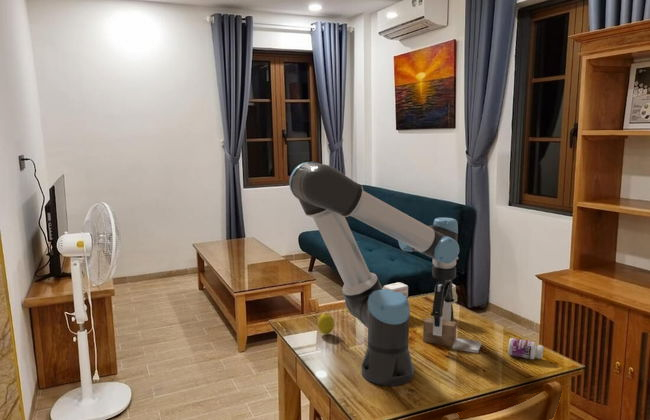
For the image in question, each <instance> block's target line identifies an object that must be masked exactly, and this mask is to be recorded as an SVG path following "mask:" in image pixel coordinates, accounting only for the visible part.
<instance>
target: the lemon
mask: <svg viewBox="0 0 650 420" xmlns="http://www.w3.org/2000/svg"><path fill="white" fill-rule="evenodd" d="M334 326H335V323H334V318H333V316H332V315H331V314H330V313H327V312H324V313H322V314H320V316H319V317H318V320H317V328H318V330H319V332H320V333H321V334H324V335H325V336H327V335H328V334H330V333H332V331H333V330H334V328H335V327H334Z"/></svg>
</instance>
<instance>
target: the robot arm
mask: <svg viewBox="0 0 650 420" xmlns="http://www.w3.org/2000/svg"><path fill="white" fill-rule="evenodd" d="M289 177H290V178H289V181H288V182H289V183H288V185H289V189H290V191H291V193H292V196H294V197H295V198H296V199H298V201H299V203H300V206H301V207H302V209H303V211H304V214H305V215H306V216H307V217H310V218H312V219H313V221H314V222H315V225H316V227H317V229H318V232H319V234H320V235H321V238H322V239H323V242H324V244H325V246H326V248H327V250H328V253H329V254H330V256H331V258H332V261H333V263H334V265H335V267H336V270H337V271H338V274H339V276H340V277H341V279H342V282H343V283H344V284H343V286H342V288H341V289H342V290H341V291H342V294H343V296H344V302H345V303H344V304H345V306H346V308H347V310H348V311H349V313H350V314H351V315H352V316H353V317H355V318H356V319H357V320H359V322H360V323H361V324H362V325H364V327H366V328H367V347H366V351H365V354H364V357H363V359H362V362H361V372H360V373H361V375H362V377H363V378H364V379H365V380H366V381H368V382H369V383H373V384H375V385H380V386H387V387H389V386H391V387H394V386H401V385H404V384H407V383H409V382H410V381H412V380H413V378H414V376H415V365H414V363H413V360H412V356H411V354H410V351H409V341H410V339H409V338H410V337H409V334H410V316H411V309H410V301H409V299H407V298H406V297H405V296H404V295H403V294H401V293H399V292H397V291H396V292H394V291H393V290H383V286H382V284H381V281H380V280H379V278H378V276H377V274H376V273H374V272H370V270H369V267H368V266H367V263H366V261H365V258H364V257H363V254H362V253H361V250H360V248H359V245H358V243H357V242H356V238H355V237H354V235H353V232H352V230H351V228H350V226H349V223H348V221H347V219H346V218H347V217H352V218H354V219H355V220H358V221H360V222H361V223H364V224H366V225H368V226H369V227H372V228H374V229H375V230H378V231H379V232H381V233H383V234H385V235H388V236H389V237H391V238H393V239H395V240H397V241H398V246H399V248H400V250H402V251H403V252H410V253H411V252H418V253H419V254H422V255H424V256H426V257H429V258H432V262H431V263H432V267H431V268H432V269H431V270H432V271H431V272H432V273H431V275H432V277H433V278H434V279H437V280H438V281H437V282H436V284H435V286H434V297H433V304H432V312H430V316H431V317H433V335H437V336H442V320H446V321H452V319H451V302H454V299H452V298H453V292H452V284H453V281H452V280H455V279H456V277H457V267H456V265H457V260H459V256H458V255H459V253H460V245H459V243H458V235H459V225H458V224H459V223H458V220H457V219H455V218H452V217H436V218H434V220H433V224H432V225H427V224H424V223H423V222H421V221H419V220H417V219H416V218H414V217H412V216H409V214H406V213H405V212H403V211H401V210H399V209H397V208H396V207H393V206H392V205H390V204H388V203H387V202H385V201H383V200H382V199H379V198H377V197H376V196H373V195H372V194H370V193H368V192H367V191H365V190H364V188H363V185H362V184H360V183H358V182H356V181H354V180H353V179H351V178H350V177H348V176H346V175H345V174H344V173H343V172H341V171H340V170H338V169H336V168H335V167H334V166H332V165H329V164H323V163H320V162H318V161H317V162H316V161H307V162H302V163H300V164H299V165H297V166H296V167H295V168H294V169H293V170H292V172H291V174H290V176H289ZM444 301H445V302H444ZM442 310H443V314H442ZM437 312H438V313H437Z"/></svg>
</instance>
